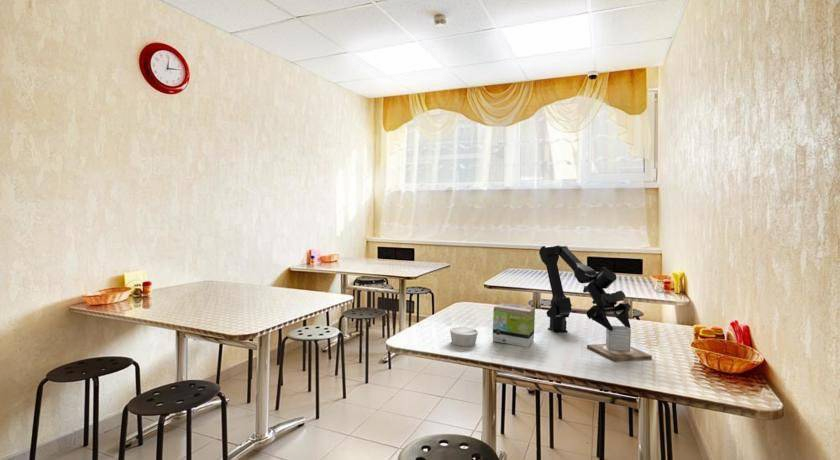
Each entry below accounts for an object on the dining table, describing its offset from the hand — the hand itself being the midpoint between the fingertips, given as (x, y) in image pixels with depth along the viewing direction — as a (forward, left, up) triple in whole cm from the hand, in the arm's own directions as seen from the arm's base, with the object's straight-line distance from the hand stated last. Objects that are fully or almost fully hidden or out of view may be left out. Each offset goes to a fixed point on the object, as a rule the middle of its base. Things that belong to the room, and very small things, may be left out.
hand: (620, 329), depth 162 cm
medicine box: (0, +1, -8) cm, 8 cm away
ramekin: (-55, +24, -10) cm, 60 cm away
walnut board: (0, +1, -9) cm, 9 cm away
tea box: (-34, +22, -10) cm, 41 cm away
